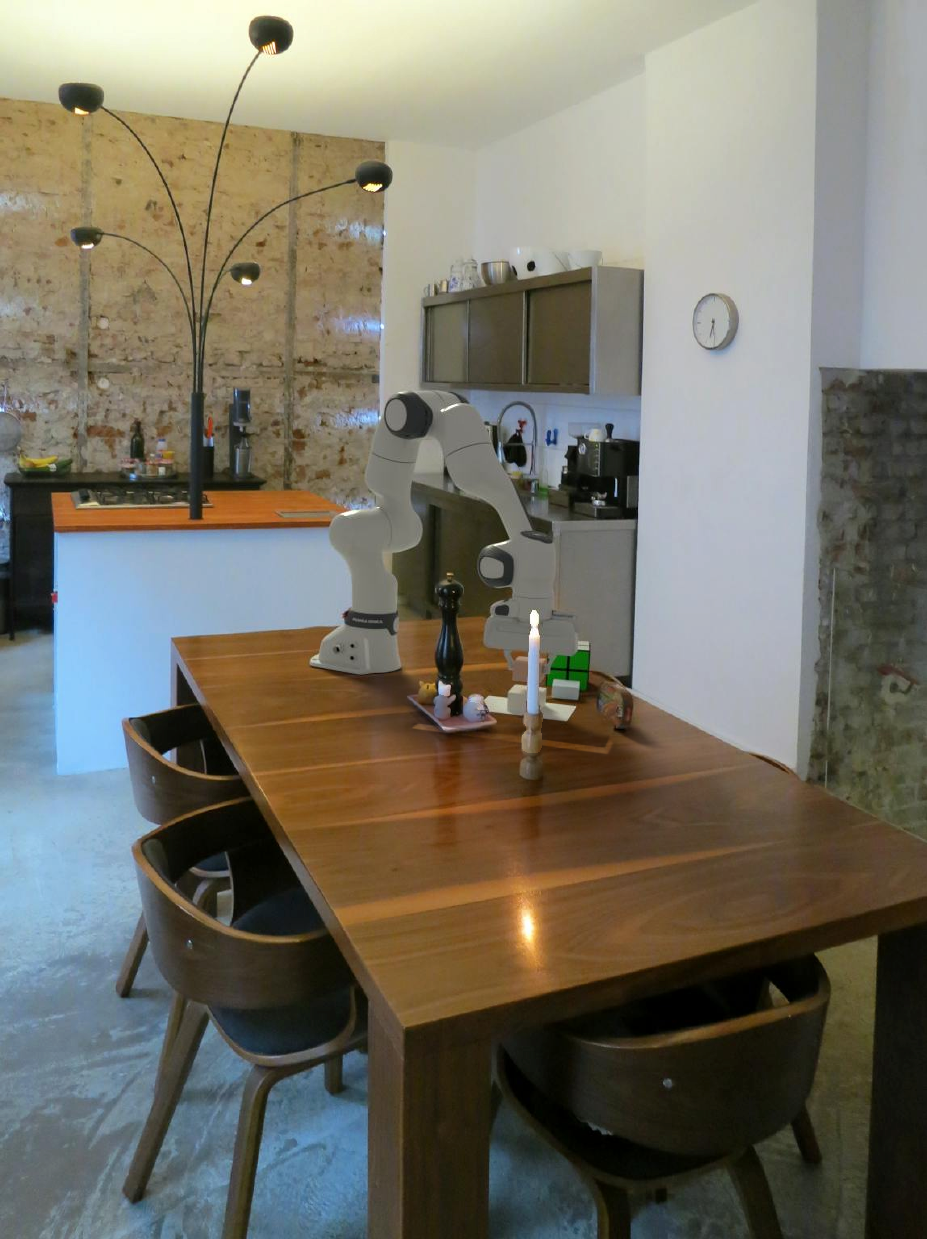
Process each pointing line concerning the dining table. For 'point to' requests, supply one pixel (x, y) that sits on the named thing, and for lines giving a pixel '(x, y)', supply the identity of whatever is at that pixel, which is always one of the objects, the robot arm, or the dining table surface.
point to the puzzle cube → (571, 667)
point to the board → (500, 706)
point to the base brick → (523, 698)
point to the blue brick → (565, 689)
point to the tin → (615, 704)
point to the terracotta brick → (525, 669)
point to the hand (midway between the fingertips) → (528, 671)
